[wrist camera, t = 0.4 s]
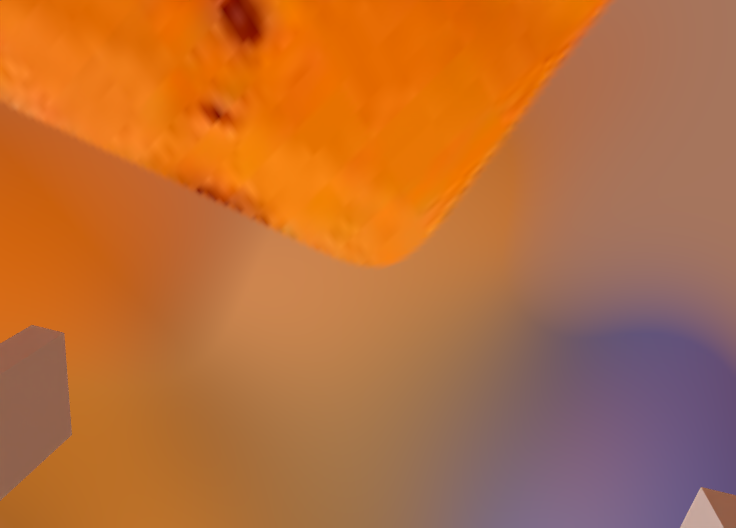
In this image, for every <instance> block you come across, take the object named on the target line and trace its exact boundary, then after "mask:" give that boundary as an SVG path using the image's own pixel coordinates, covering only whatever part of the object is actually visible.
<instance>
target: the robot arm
mask: <svg viewBox="0 0 736 528" xmlns="http://www.w3.org/2000/svg"><path fill="white" fill-rule="evenodd" d="M71 435H72V433H71V419H70V405H69V392H68V379H67V366H66V353H65V340H64V333H62V332H59V331H54V330H50V329H46V328H42V327H38V326H34V325H32V326H30V327H28V328H26V329H24V330H23V331H21V332H20V333H17V334H16V335H14V336H12V337H11V338H9V339H7V340H6V341H4V342H2V343H0V500H1V499H2V498H3V497H5V496H6V495H7V494H8V493H9V492H10V491H11V490H12V489H13V488H14V487H15V486H17V485H18V484H19V483H20V482H21V481H22V480H23V479H24V478H25V477H26V476H27V475H29V473H31V472H32V471H33V470H34V469H35V468H36V467H37V466H38V465H39V464H40V463H42V461H44V460H45V459H46V458H47V457H48V456H49V455H50V454H51V453H52V452H54V451H55V450H56V449H57V448H58V447H59V446H60V445H61V444H62V443H63V442H64V441H65V440H67V439H68V438H69V437H70V436H71ZM680 528H736V495H732V494H727V493H724V492H719V491H715V490H711V489H707V488H703V487H701V488H700V490H699V492H698V494H697V496H696V498H695V500H694V502H693V504H692V506H691V507H690V510H689V511H688V513H687V515H686V517H685V519H684V521H683V523H682V525H681V527H680Z"/></svg>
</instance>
